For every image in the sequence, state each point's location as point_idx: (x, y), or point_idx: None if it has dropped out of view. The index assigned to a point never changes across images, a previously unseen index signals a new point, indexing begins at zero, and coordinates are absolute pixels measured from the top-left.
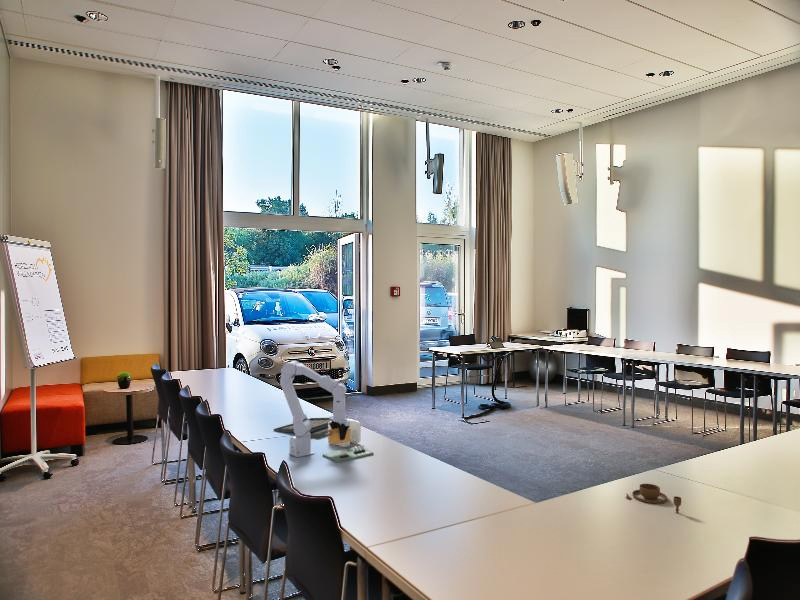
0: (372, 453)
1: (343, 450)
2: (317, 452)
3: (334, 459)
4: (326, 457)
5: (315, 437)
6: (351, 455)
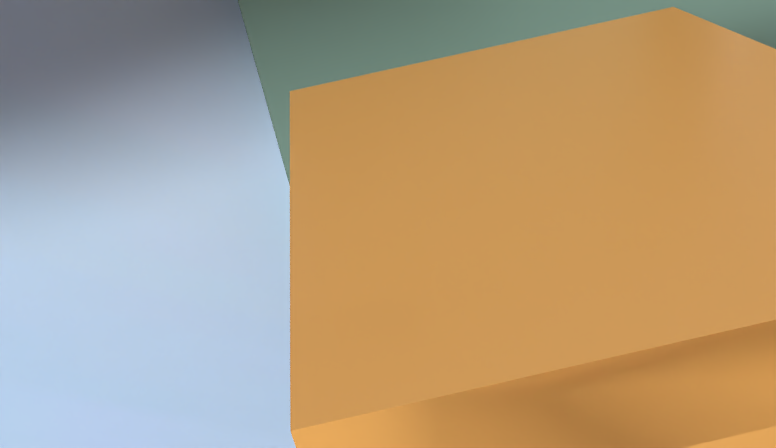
0: None
1: (309, 36)
2: (92, 437)
3: None
4: None
5: None
6: (762, 24)
